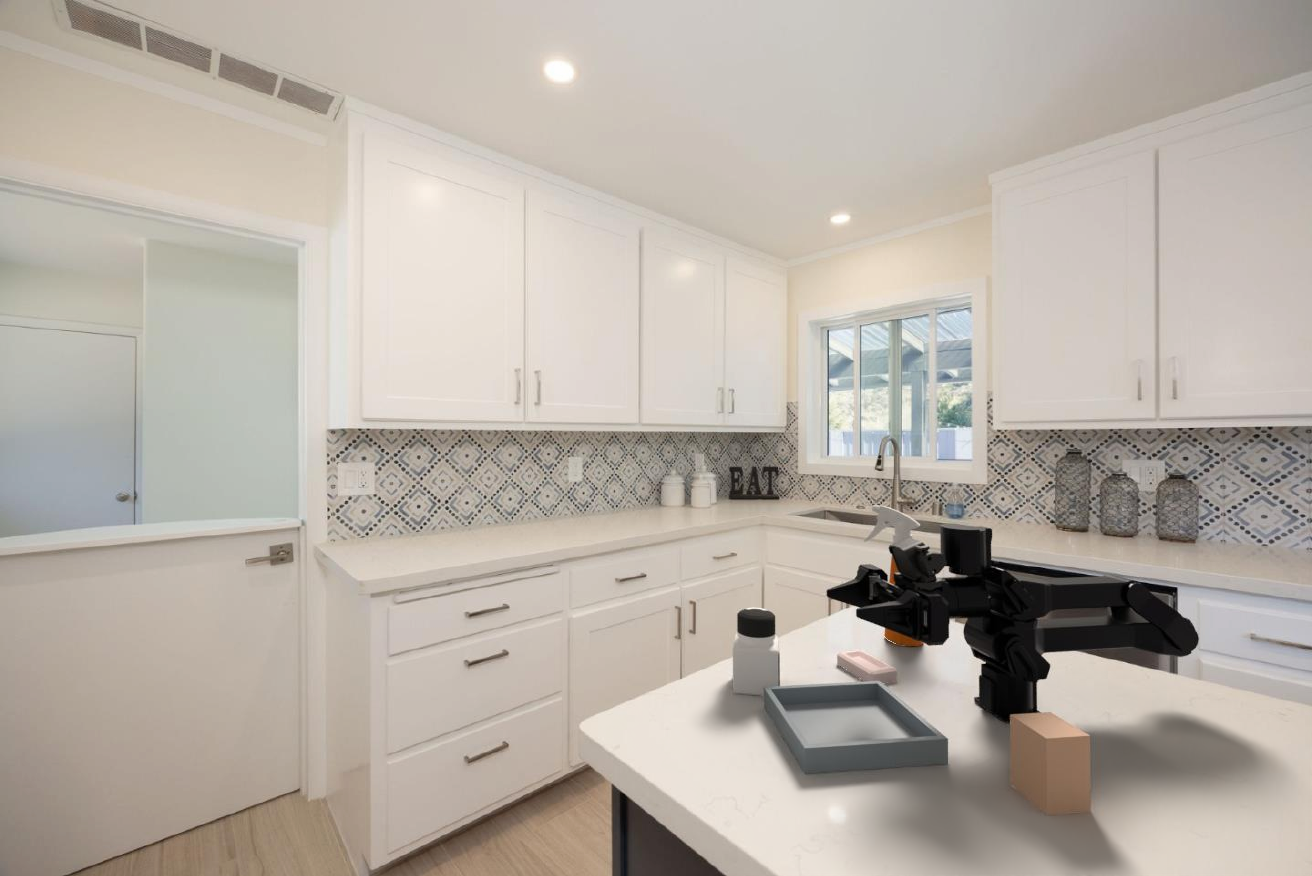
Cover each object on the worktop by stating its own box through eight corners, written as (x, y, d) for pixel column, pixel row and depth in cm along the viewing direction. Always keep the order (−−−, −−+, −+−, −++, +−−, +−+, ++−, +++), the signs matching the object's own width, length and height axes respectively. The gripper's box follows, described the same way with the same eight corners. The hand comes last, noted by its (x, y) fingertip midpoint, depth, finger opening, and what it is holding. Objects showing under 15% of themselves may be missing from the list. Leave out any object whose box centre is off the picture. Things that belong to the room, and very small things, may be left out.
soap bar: (871, 688, 86) (871, 672, 86) (835, 665, 95) (835, 651, 95) (898, 683, 88) (898, 668, 88) (860, 661, 96) (860, 648, 96)
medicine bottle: (779, 698, 82) (779, 619, 82) (732, 694, 83) (732, 616, 83) (778, 678, 89) (778, 605, 89) (735, 674, 90) (734, 603, 90)
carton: (1051, 782, 61) (1050, 712, 62) (1090, 811, 57) (1089, 735, 57) (1010, 785, 61) (1010, 714, 61) (1047, 815, 56) (1046, 738, 56)
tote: (879, 700, 81) (879, 680, 81) (948, 763, 65) (947, 738, 65) (763, 707, 79) (763, 687, 79) (805, 774, 63) (804, 748, 63)
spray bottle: (869, 628, 112) (868, 502, 113) (926, 638, 106) (925, 505, 106) (860, 638, 107) (859, 506, 107) (920, 650, 100) (918, 509, 101)
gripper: (906, 531, 86) (813, 533, 84) (991, 555, 68) (874, 559, 66) (907, 600, 86) (814, 604, 84) (993, 644, 67) (875, 650, 66)
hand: (840, 602), depth 75 cm, fingers open, 9 cm apart
